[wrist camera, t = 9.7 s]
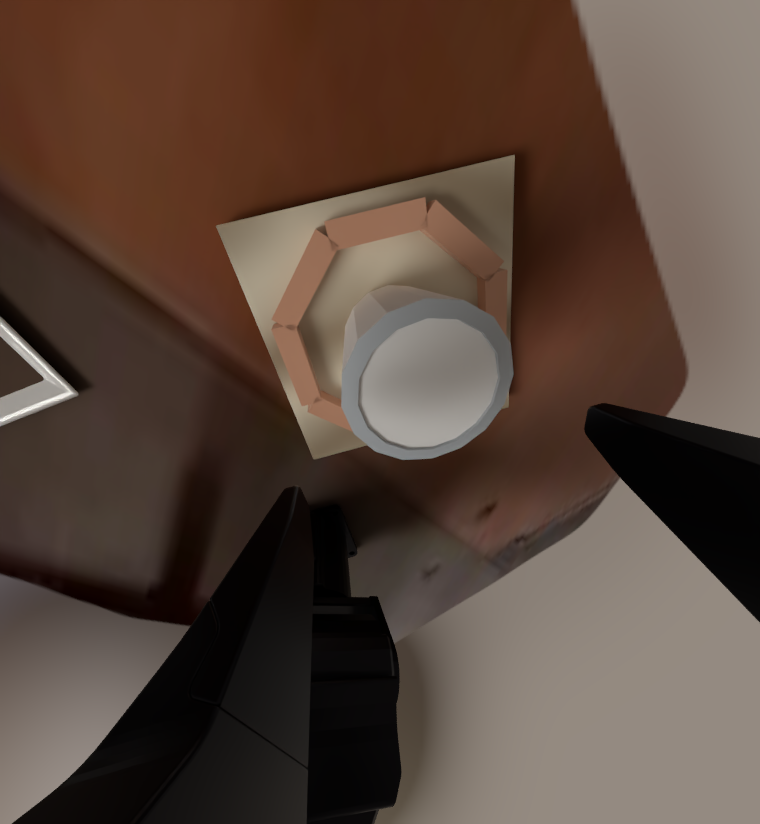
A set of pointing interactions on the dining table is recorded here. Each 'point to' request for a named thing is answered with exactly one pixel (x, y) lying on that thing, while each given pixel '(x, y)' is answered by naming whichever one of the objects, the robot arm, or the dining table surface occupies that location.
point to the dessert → (36, 395)
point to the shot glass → (422, 372)
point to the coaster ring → (364, 230)
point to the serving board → (365, 269)
